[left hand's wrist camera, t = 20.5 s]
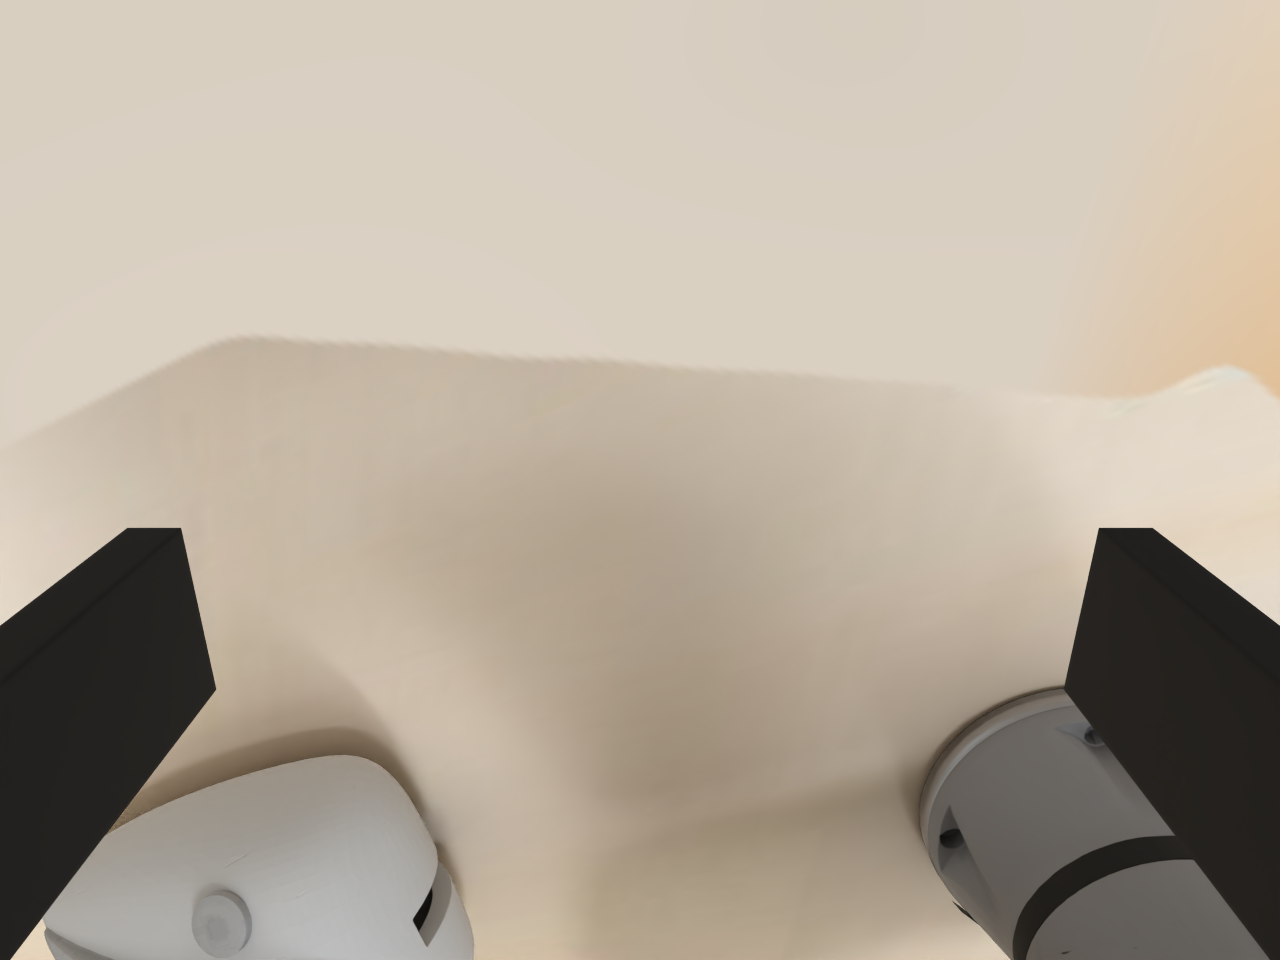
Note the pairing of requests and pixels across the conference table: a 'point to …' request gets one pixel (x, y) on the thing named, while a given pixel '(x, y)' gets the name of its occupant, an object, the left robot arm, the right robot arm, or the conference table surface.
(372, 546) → the conference table surface
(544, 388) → the conference table surface
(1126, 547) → the left robot arm
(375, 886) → the projector
